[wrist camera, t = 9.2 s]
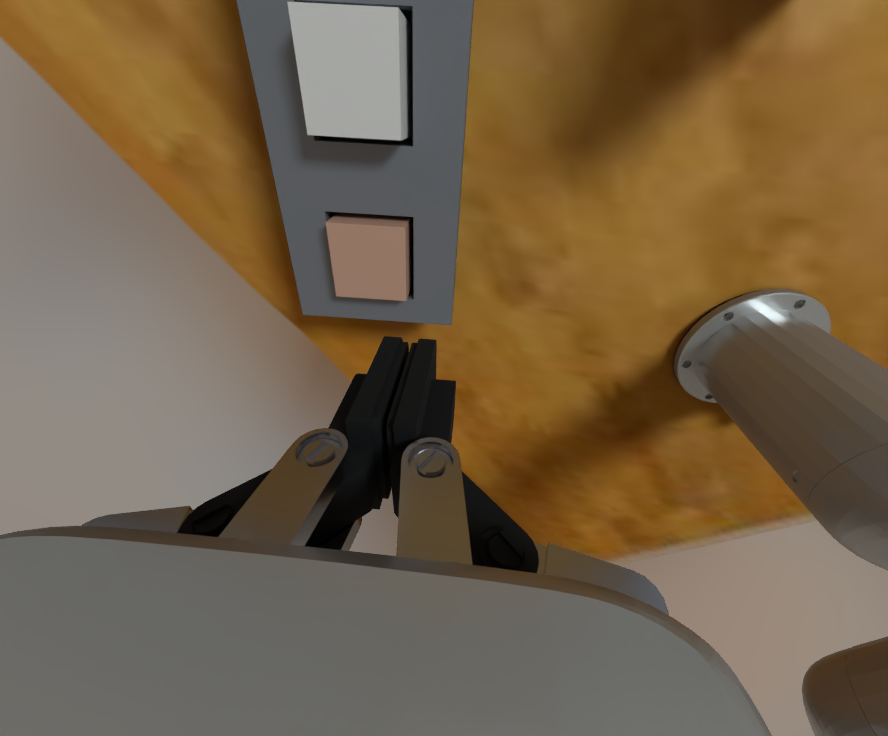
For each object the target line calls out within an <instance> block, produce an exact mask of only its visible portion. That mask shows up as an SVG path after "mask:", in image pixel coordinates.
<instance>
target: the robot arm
mask: <svg viewBox="0 0 888 736" xmlns="http://www.w3.org/2000/svg"><path fill="white" fill-rule="evenodd" d="M830 330H831V321H830V317H829V313H828V312H827V310H826V309H825V307H824V306H823V305H822V304H821V303H819V302H818V301H817V300H816V299H814V298H812V297H810V296H808V295H806V294H804V293H802V292H798V291H794V290H791V289H769V290H760V291H757V292H753V293H749V294H745V295H742V296H740V297H737V298H735V299H732V300H730V301H728V302H726V303H724V304H722V305H721V306H719V307H717V308H715V309H714V310H712V311H711V312H710V313H708V314H707V315H705V316H704V317H703V318H702V319H700V320H699V321H698V322H697V323H696V324H695V325H694V326H693V327H692V328H691V329H690V330H689V332H688V333H687V334H686V335H685V337H684V338H683V340H682V341H681V343H680V345H679V347H678V349H677V352H676V355H675V358H674V372H675V376H676V378H677V380H678V382H679V383H680V385H681V386H682V387H683V388H684V390H685V391H686V392H687V393H689V394H690V395H691V396H693V397H695V398H697V399H699V400H702V401H706V402H711V403H718V404H719V405H720V406H721V407H722V409H723V410H724V411H725V412H726V413H727V414H728V416H729V417H730V418H731V419H732V420H733V421H734V423H735V424H736V425H737V426H738V427H739V429H740V430H741V431H742V432H743V433H744V434H745V436H746V437H747V438H748V439H749V440H750V442H751V443H752V444H753V445H754V446H755V447H756V449H757V450H758V451H759V452H760V453H761V455H762V456H763V457H764V458H765V459H766V460H767V462H768V463H769V464H770V465H771V466H772V467H773V469H774V470H775V471H776V472H777V473H778V475H779V476H780V477H781V478H782V479H783V480H784V482H785V483H786V484H787V485H788V486H789V488H790V489H791V490H792V491H793V492H794V493H795V495H796V496H797V497H798V498H799V499H800V501H801V502H802V503H803V504H804V505H805V506H806V508H807V509H808V510H809V511H810V512H811V513H812V514H813V516H814V517H815V518H816V519H817V520H818V521H819V523H820V524H821V525H822V526H823V527H824V528H825V529H826V531H827V532H828V533H830V535H831V536H832V537H833V538H834V539H836V540H837V541H838V542H839V543H840V544H842V545H843V546H844V547H845V548H847V549H848V550H850V551H851V552H853V553H854V554H856V555H857V556H859V557H861V558H863V559H865V560H866V561H868V562H870V563H872V564H874V565H876V566H879V567H881V568H883V569H886V570H888V370H887V369H886V368H884V367H882V366H881V365H879V364H877V363H876V362H874V361H873V360H871V359H869V358H868V357H866V356H865V355H863V354H861V353H860V352H858V351H856V350H855V349H853V348H852V347H850V346H848V345H847V344H845V343H843V342H842V341H840V340H839V339H837V338H835V337H834V336H832V335H831V334H830ZM455 390H456V381H450V380H437V379H436V340H431V339H419V340H418V343H412V345H411V348H410V351H409V347H408V342H403V340H402V338H401V337H387V336H385V337H384V338H383V340H382V342H381V344H380V347H379V349H378V351H377V353H376V355H375V357H374V360H373V362H372V364H371V366H370V368H369V371H368V373H367V374H356V375H355V377H354V378H353V380H352V382H351V384H350V386H349V388H348V390H347V392H346V395H345V396H344V398H343V400H342V402H341V404H340V406H339V408H338V410H337V412H336V414H335V416H334V418H333V420H332V422H331V424H330V426H329V428H322V429H316V430H313V431H310V432H307V433H305V434H304V435H302V436H300V437H299V438H298V439H297V440H296V441H295V442H294V443H293V444H292V445H291V446H290V448H289V449H288V450H287V451H286V453H285V454H284V455H283V456H282V458H281V459H280V460H279V461H278V463H277V464H276V465H275V467H274V468H273V469H271V470H270V471H267V472H265V473H263V474H261V475H259V476H257V477H255V478H253V479H251V480H249V481H247V482H245V483H243V484H241V485H239V486H237V487H235V488H233V489H231V490H229V491H227V492H225V493H223V494H221V495H219V496H217V497H215V498H212V499H210V500H209V501H207V502H205V503H203V504H202V505H200V506H198V507H197V508H196V509H195V510H192V509H191V507H190V506H184V507H176V508H166V509H157V510H148V511H139V512H130V513H121V514H112V515H106V516H102V517H98V518H95V519H93V520H91V521H89V522H87V523H85V524H83V525H82V526H67V527H66V526H65V527H64V526H63V527H48V528H40V529H32V530H24V531H17V532H12V533H8V534H3V535H0V736H772V735H771V733H770V731H769V730H768V728H767V726H766V724H765V722H764V720H763V718H762V717H761V715H760V713H759V712H758V710H757V708H756V706H755V705H754V703H753V701H752V700H751V698H750V696H749V694H748V693H747V691H746V690H745V689H744V687H743V686H742V684H741V682H740V681H739V679H738V678H737V676H736V675H735V673H734V672H733V671H732V669H731V668H730V667H729V665H728V664H727V663H726V662H725V661H724V660H723V658H722V657H721V656H720V655H719V654H718V653H717V652H716V651H715V650H714V649H713V648H712V647H711V646H710V645H709V644H708V643H707V642H706V641H705V640H703V639H702V638H701V637H700V636H698V635H697V634H696V633H695V632H693V631H692V630H690V629H689V628H687V627H686V626H684V625H683V624H681V623H680V622H678V621H677V620H675V619H674V618H672V617H670V616H669V613H668V610H667V606H666V603H665V600H664V598H663V596H662V595H661V593H660V592H659V591H658V589H657V588H656V586H655V585H654V584H652V583H651V582H650V581H649V580H648V579H647V578H646V577H645V576H643V575H641V574H639V573H636V572H635V571H632V570H630V569H626V568H624V567H621V566H618V565H615V564H612V563H609V562H606V561H603V560H600V559H597V558H594V557H590V556H587V555H584V554H581V553H578V552H575V551H572V550H569V549H566V548H563V547H560V546H557V545H554V544H551V543H549V544H548V547H547V546H544V545H541V544H538V543H535V542H533V541H532V539H531V538H530V537H529V536H528V534H527V533H526V532H525V531H524V530H523V529H522V528H521V527H520V526H519V525H518V524H516V523H515V522H514V521H513V520H512V519H511V518H510V517H509V516H508V515H507V514H506V513H505V512H504V511H503V510H502V509H501V508H500V507H499V506H498V505H497V504H496V503H494V502H493V501H492V500H491V499H490V498H489V497H488V496H487V495H486V494H485V493H484V492H483V491H482V490H481V489H480V488H479V487H478V486H477V485H476V484H475V483H474V482H473V481H471V480H470V479H469V478H468V477H467V476H466V475H465V474H464V473H463V472H462V470H461V462H460V456H459V453H458V451H457V449H456V448H455V447H454V446H453V445H452V444H451V439H452V430H453V420H454V407H455ZM391 488H392V495H393V505H394V513H395V514H396V516H397V517H398V535H397V554H396V556H388V555H379V554H370V553H360V552H352V551H349V550H350V547H351V545H352V543H353V541H354V539H355V537H356V535H357V533H358V530H359V528H360V526H361V522H362V516H364V515H365V514H367V513H368V512H370V511H371V510H372V509H380V506H381V502H382V499H383V498H386V499H388V498H389V495H390V492H391ZM802 694H803V703H804V707H805V710H806V714H807V716H808V719H809V722H810V725H811V727H812V730H813V732H814V734H815V736H888V637H885V638H881V639H878V640H874V641H871V642H867V643H864V644H860V645H857V646H853V647H852V648H848V649H845V650H842V651H839V652H836V653H833V654H831V655H828V656H825V657H823V658H822V659H820V660H819V661H817V662H815V663H814V664H813V665H812V666H811V667H810V668H809V669H808V671H807V672H806V674H805V676H804V679H803V685H802Z"/></svg>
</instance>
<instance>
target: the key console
mask: <svg viewBox="0 0 888 736" xmlns="http://www.w3.org/2000/svg"><path fill="white" fill-rule="evenodd" d="M236 1H237V5H238V10H239V15H240V20H241V24H242V29H243V34H244V39H245V43H246V48H247V53H248V57H249V62H250V67H251V72H252V76H253V81H254V86H255V91H256V95H257V100H258V105H259V110H260V114H261V119H262V124H263V128H264V133H265V138H266V143H267V147H268V152H269V157H270V162H271V166H272V171H273V176H274V181H275V185H276V190H277V195H278V199H279V204H280V209H281V214H282V218H283V223H284V228H285V233H286V237H287V242H288V247H289V252H290V256H291V261H292V266H293V270H294V275H295V280H296V285H297V289H298V294H299V299H300V304H301V308H302V313H303V315H313V316H327V317H342V318H356V319H370V320H384V321H399V322H413V323H427V324H441V325H451V322H452V311H453V299H454V286H455V271H456V256H457V242H458V227H459V212H460V197H461V183H462V168H463V153H464V138H465V124H466V109H467V94H468V79H469V65H470V50H471V35H472V21H473V6H474V0H236ZM287 2H305V3H324V4H343V5H362V6H382V7H398V8H399V9H400V10H401V12H402V13H403V15H404V16H405V18H406V19H407V21H408V22H409V23H410V25H411V26H412V29H413V136H411V137H408V138H406V139H404V140H401V141H399V140H382V139H365V138H349V137H332V136H315V135H307V128H306V122H305V115H304V109H303V102H302V95H301V89H300V82H299V76H298V69H297V63H296V56H295V49H294V43H293V36H292V30H291V23H290V16H289V10H288V3H287ZM338 212H343V213H359V214H374V215H390V216H406V217H413V229H414V280H413V283H412V286H411V289H410V292H409V295H408V298H407V301H397V300H382V299H368V298H353V297H339V296H336V291H335V284H334V277H333V271H332V264H331V257H330V250H329V243H328V236H327V229H326V222H327V221H328V220H329V219H331V218H332V217H333V216H334V215H336V214H337V213H338Z"/></svg>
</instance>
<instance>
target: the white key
mask: <svg viewBox="0 0 888 736" xmlns="http://www.w3.org/2000/svg"><path fill="white" fill-rule="evenodd" d="M287 3H288V10H289V16H290V23H291V30H292V36H293V43H294V49H295V56H296V63H297V69H298V76H299V82H300V89H301V95H302V102H303V109H304V115H305V122H306V128H307V135H315V136H332V137H349V138H365V139H382V140H399V141H401V140H404V139H406V138H408V137H411V136H413V29H412V26H411V25H410V23H409V22H408V21H407V19H406V18H405V16H404V15H403V13H402V12H401V10H400V9H399V8H398V7H382V6H362V5H343V4H324V3H305V2H287Z"/></svg>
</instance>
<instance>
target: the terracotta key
mask: <svg viewBox="0 0 888 736" xmlns="http://www.w3.org/2000/svg"><path fill="white" fill-rule="evenodd" d="M326 229H327V236H328V243H329V250H330V257H331V264H332V271H333V277H334V284H335V291H336V296H339V297H353V298H368V299H382V300H397V301H407V298H408V295H409V292H410V289H411V286H412V283H413V280H414V229H413V217H406V216H390V215H374V214H359V213H343V212H338V213H337V214H336V215H334V216H333V217H332V218H331V219H329V220H328V221H327V222H326Z"/></svg>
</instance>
